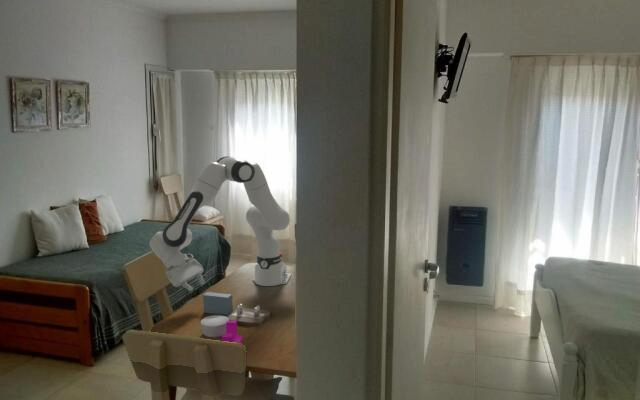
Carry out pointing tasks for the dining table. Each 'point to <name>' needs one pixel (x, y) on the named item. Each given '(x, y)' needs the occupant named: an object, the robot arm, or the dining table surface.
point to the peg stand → (249, 316)
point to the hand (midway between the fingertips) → (197, 286)
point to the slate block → (218, 303)
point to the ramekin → (214, 326)
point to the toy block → (232, 333)
